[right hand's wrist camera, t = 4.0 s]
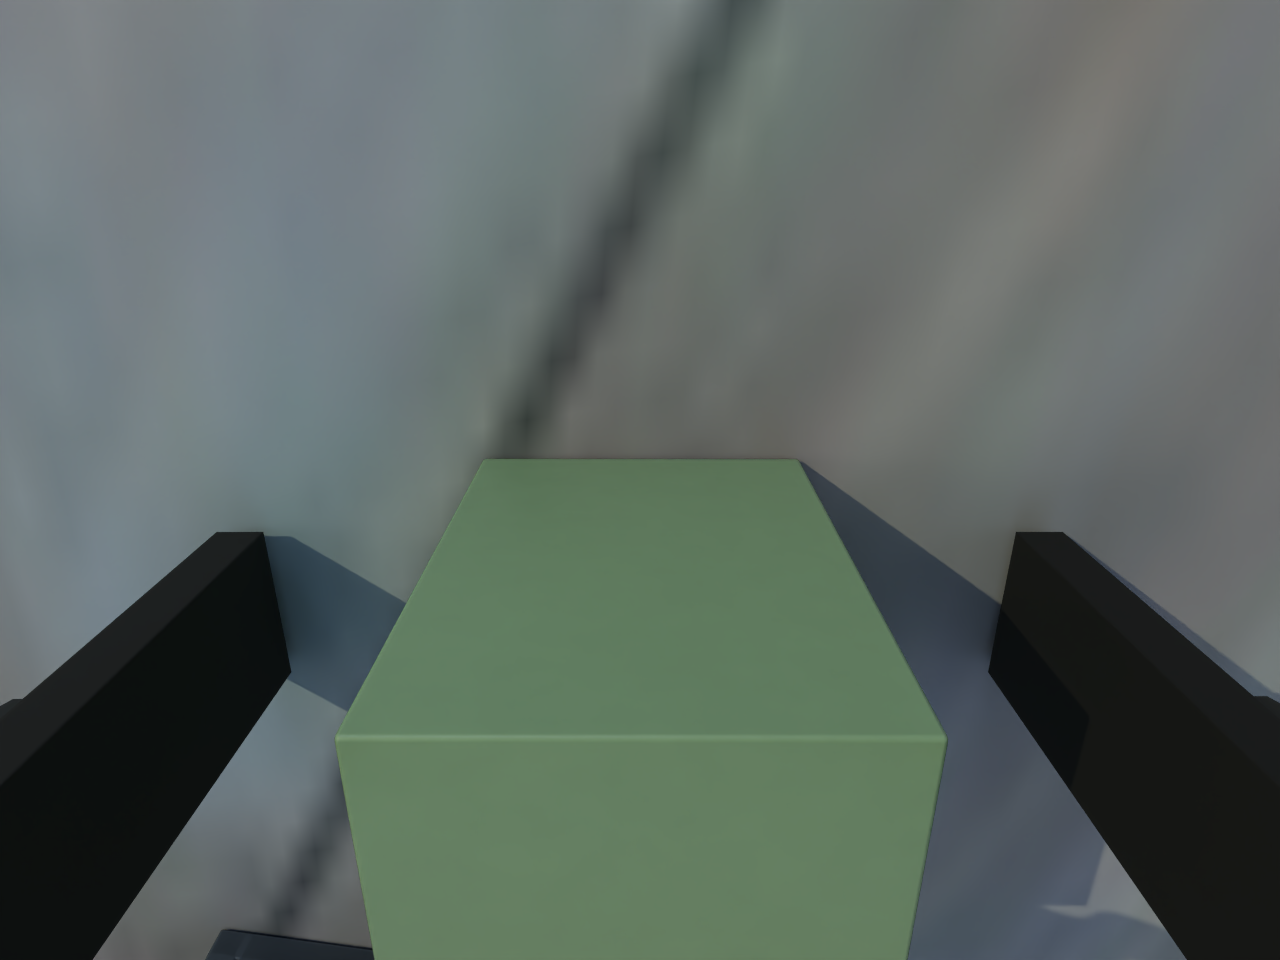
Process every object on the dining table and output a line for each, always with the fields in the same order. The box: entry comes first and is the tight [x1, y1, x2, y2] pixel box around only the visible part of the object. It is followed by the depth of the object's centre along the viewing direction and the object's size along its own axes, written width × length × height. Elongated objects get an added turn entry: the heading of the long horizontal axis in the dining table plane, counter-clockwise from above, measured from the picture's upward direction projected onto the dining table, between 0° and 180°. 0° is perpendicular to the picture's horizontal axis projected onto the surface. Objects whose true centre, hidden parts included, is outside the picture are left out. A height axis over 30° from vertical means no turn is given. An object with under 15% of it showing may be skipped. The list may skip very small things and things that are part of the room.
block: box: [335, 459, 948, 960], centre depth 10 cm, size 5×5×6 cm
